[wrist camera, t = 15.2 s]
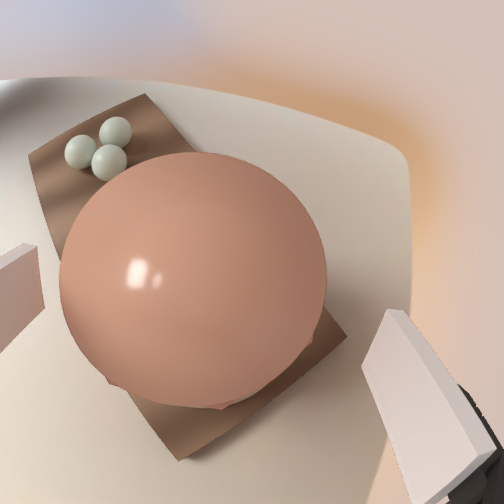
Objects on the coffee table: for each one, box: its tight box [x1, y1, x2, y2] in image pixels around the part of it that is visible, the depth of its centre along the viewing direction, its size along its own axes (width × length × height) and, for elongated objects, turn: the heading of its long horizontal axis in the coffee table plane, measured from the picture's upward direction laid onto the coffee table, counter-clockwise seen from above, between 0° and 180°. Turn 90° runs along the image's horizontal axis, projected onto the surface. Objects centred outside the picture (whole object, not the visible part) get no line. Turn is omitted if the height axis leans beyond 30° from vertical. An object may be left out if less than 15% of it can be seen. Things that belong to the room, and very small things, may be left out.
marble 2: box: [99, 117, 132, 148], centre depth 23 cm, size 3×3×3 cm
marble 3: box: [91, 144, 127, 181], centre depth 22 cm, size 3×3×3 cm
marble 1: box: [65, 135, 97, 169], centre depth 22 cm, size 3×3×3 cm
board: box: [28, 94, 347, 462], centre depth 22 cm, size 30×14×1 cm, turn 37°
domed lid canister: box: [59, 152, 327, 410], centre depth 14 cm, size 9×9×10 cm
